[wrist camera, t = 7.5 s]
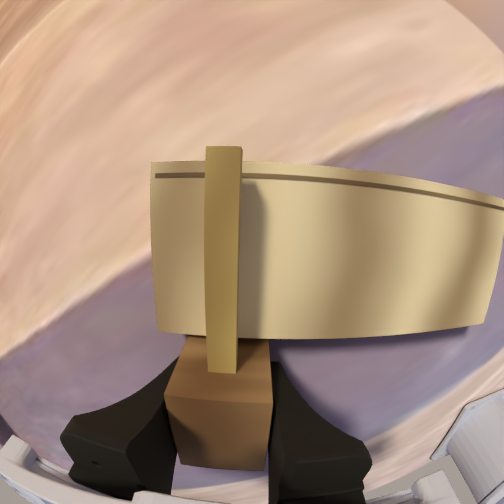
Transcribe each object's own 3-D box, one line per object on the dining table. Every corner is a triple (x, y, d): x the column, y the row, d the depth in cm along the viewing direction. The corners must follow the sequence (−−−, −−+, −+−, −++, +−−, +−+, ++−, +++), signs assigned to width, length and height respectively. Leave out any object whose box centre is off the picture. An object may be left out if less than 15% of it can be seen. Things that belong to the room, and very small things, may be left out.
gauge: (275, 160, 11) (291, 140, 6) (262, 391, 14) (264, 470, 9) (193, 159, 11) (146, 140, 6) (200, 388, 14) (181, 464, 9)
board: (483, 196, 11) (507, 200, 9) (464, 309, 13) (483, 323, 11) (167, 165, 11) (150, 162, 9) (170, 311, 13) (158, 331, 11)
